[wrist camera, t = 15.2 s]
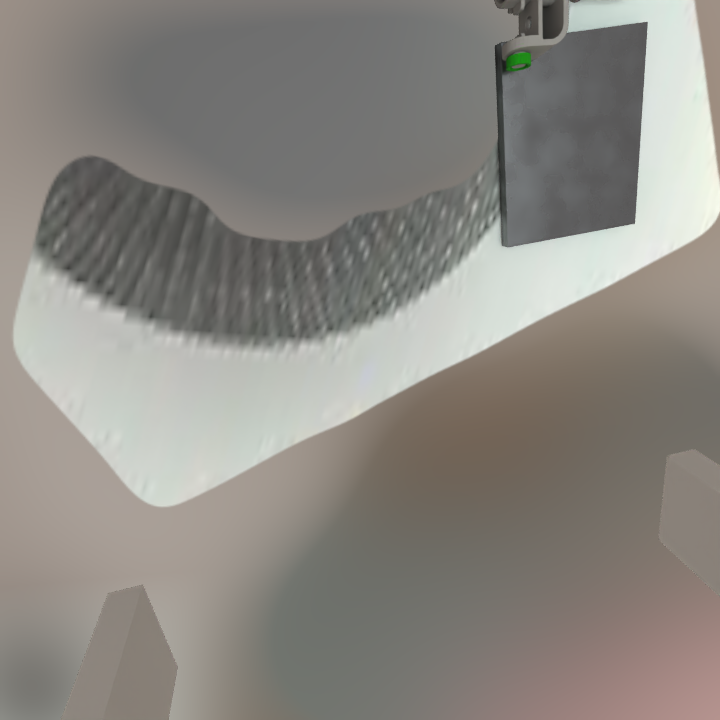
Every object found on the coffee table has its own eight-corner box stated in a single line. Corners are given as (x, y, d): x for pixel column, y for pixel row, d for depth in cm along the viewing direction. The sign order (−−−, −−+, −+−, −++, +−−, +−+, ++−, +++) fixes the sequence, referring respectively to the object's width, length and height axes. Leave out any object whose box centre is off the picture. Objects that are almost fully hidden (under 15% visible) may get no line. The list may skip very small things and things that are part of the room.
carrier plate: (494, 45, 35) (501, 42, 34) (637, 25, 36) (647, 21, 35) (502, 245, 40) (508, 247, 39) (626, 222, 41) (634, 223, 40)
